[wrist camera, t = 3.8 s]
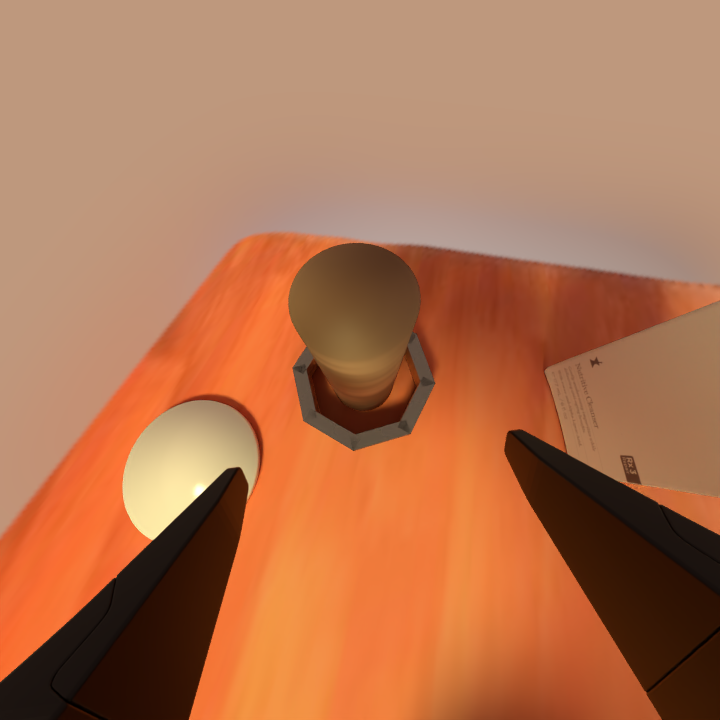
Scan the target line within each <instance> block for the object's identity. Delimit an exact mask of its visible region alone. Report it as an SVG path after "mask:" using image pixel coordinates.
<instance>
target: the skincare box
mask: <svg viewBox="0 0 720 720" xmlns="http://www.w3.org/2000/svg"><path fill="white" fill-rule="evenodd" d="M544 372H545V375H546V378H547V381H548V383H549V385H550V388H551V392H552V395H553V398H554V402H555V405H556V409H557V412H558V416H559V420H560V424H561V428H562V432H563V436H564V440H565V444H566V449H567V453H568V455H570V456H572V457H574V458H576V459H577V460H579V461H581V462H583V463H585V464H587V465H589V466H590V467H592V468H594V469H596V470H598V471H600V472H602V473H603V474H605V475H607V476H609V477H611V478H613V479H615V480H616V481H619V482H626V483H631V484H638V485H644V486H651V487H657V488H663V489H669V490H675V491H681V492H688V493H694V494H700V495H706V496H713V497H719V498H720V301H717V302H715V303H712V304H710V305H707V306H705V307H702V308H700V309H697V310H694V311H692V312H689V313H686V314H684V315H681V316H679V317H676V318H674V319H671V320H668V321H666V322H663V323H661V324H658V325H655V326H653V327H650V328H648V329H645V330H643V331H640V332H638V333H635V334H632V335H630V336H627V337H625V338H622V339H619V340H617V341H614V342H612V343H609V344H606V345H604V346H601V347H598V348H596V349H593V350H590V351H588V352H585V353H583V354H580V355H577V356H575V357H572V358H570V359H567V360H565V361H562V362H560V363H557V364H554V365H552V366H549V367H547V369H546V370H545V371H544Z"/></svg>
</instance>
